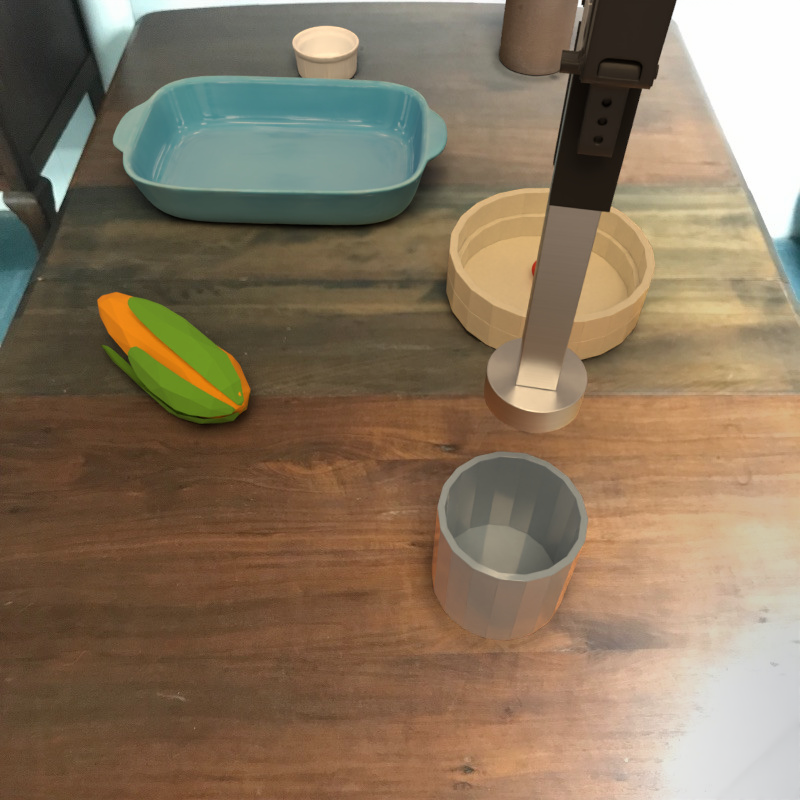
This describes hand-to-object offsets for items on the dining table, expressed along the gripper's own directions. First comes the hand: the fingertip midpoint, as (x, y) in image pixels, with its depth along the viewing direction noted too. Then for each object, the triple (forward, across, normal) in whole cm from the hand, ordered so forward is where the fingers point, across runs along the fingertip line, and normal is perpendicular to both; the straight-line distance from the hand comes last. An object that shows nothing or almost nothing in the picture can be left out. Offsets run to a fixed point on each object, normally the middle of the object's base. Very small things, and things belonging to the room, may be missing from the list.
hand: (580, 182), depth 37 cm
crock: (+34, +3, 0) cm, 34 cm away
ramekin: (+34, -68, -31) cm, 82 cm away
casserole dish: (+34, -43, -30) cm, 62 cm away
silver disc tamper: (+15, 0, 0) cm, 15 cm away
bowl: (+34, -29, +1) cm, 45 cm away
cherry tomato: (+32, -31, +1) cm, 45 cm away
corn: (+34, -12, -32) cm, 48 cm away
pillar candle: (+34, -77, -3) cm, 85 cm away
